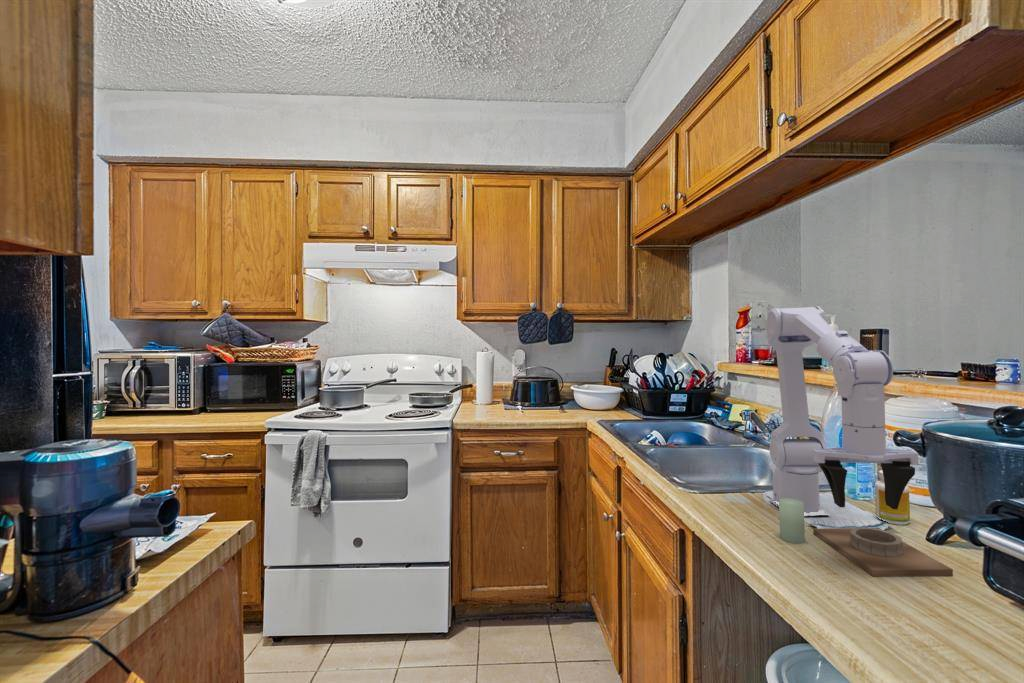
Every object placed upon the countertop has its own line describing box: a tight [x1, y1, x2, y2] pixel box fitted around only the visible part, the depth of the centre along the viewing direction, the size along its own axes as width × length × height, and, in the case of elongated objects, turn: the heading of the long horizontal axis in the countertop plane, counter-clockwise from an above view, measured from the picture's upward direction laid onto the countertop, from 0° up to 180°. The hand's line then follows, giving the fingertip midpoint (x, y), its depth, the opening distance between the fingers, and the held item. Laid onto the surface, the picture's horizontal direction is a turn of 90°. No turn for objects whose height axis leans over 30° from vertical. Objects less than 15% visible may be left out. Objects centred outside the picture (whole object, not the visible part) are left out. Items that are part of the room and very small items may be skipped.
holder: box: [812, 526, 954, 578], centre depth 82 cm, size 16×12×3 cm
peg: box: [778, 498, 806, 544], centre depth 88 cm, size 4×4×7 cm
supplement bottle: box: [874, 469, 911, 526], centre depth 95 cm, size 5×5×10 cm
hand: (865, 506), depth 77 cm, fingers open, 7 cm apart
